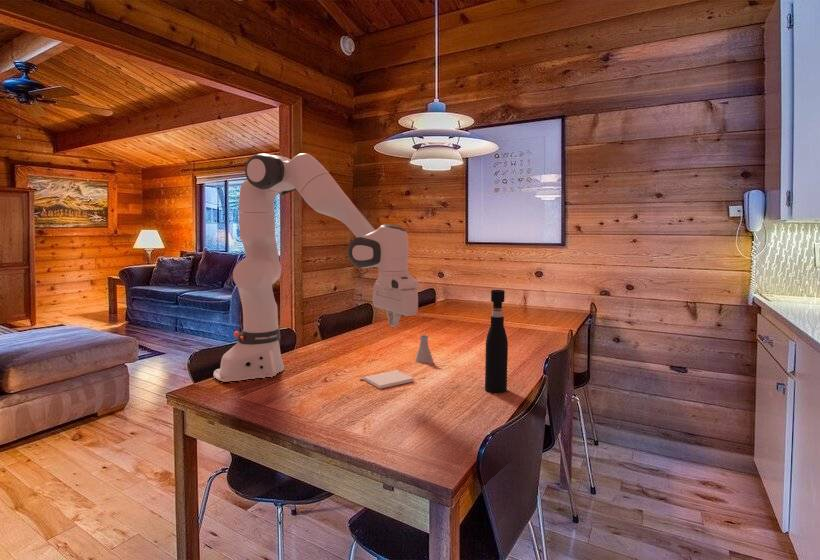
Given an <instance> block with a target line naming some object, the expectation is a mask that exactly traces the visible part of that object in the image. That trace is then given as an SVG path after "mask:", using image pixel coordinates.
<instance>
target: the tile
mask: <svg viewBox="0 0 820 560" xmlns="http://www.w3.org/2000/svg"><path fill="white" fill-rule="evenodd" d="M363 379H364V381H365V382H366V383H368V384H371V385H373V386H375V387H376V388H378V389H379V390H381V389H387V388H391V387H394V386H399V385H404V384H407V383H411V382H415V378H414V377H412V376H410V375H409V374H406V373H404V372H402V371H400V370H397V369H395V370H390V371H386V372H381V373H375V374H371V375H365V376H363Z"/></svg>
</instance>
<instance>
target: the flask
mask: <svg viewBox="0 0 820 560" xmlns="http://www.w3.org/2000/svg"><path fill="white" fill-rule="evenodd" d="M419 338H420V342H419V347H418V349H417V352H416V355H415V357H414V358H415V359H414V360H415V363H419V364H420V363H421V364H429V365H431V366H432V365H433V364H435V362H434V359H433V356H432V354H431V350H430V347H429V341H428V340H429V339H428V338H429V335H427V334H421V335H419Z"/></svg>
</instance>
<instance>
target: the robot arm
mask: <svg viewBox="0 0 820 560" xmlns="http://www.w3.org/2000/svg"><path fill="white" fill-rule="evenodd" d="M244 174H245V177H246V179H245V180H244V181H243V182H242V183H241V185H240V189H239V196H238V197H239V198H238V225H239V226H238V227H239V229H238V230H239V238H240V240H241V243H242V246H243V248H244V249H243V250H244V254H245V258H243V259H241V260H240V261H239V262H238V263H237V264H236V266H234V269H233V272H232V278H233V282H234V283H235V285H236V287H237V290H238V293H239V298H240V302H241V307H242V324H243V329H242V330H241V331H238V330H236V331H234V332H233V336H234V337H235V338H237V343H236V344H234V345H233V346H232V347H231V348H229V350H228V351H226V352H225V353H224V354H223V355H222V357H221V361H220V367H219V368H217V369H215V370H214V371H213V377H214V379H215V378H216V379H218V380H221V381H237V380H246V379H255V378H263V379H266V378H265V377H271V378H274V377H276V375H277V373H278V374H279V372H280V373H281V372H283V371H284V370H285V365H284V362H283V359H282V358H283V357H282V353H281V348H280V347H281V345H280V344H281V332H280V328H279V319H278V318H279V316H278V315H279V313H278V304H277V302H276V299H275V295H274V291H273V285H274V284H275V283H276V282H277V281H278V280H279V278H280V276H281V274H282V271H283V270H282V268H283V267H282V265H281V262H280V257H279V256H280V255H279V251H278V245H277V241H276V228H275V227H276V224H275V223H276V221H275V199H276V197H277V196H278V194H279V195H281V196H283V195H286V194H288V193H293V192H294V191H297V192H298V193H299V195H300V196H301V197H302V198H303V200H304V201H305V203H306V204H307V206H309V207H310V208H311V209H313V210H314V211H315V212H317V213H318V214H322V215H324V216H328V217H330V218H334V219H336V220H338V221H340V222H342V223H343V224H344V225H345V226H346V227H347V228H348V229H349V230H350V232H351V233H352V234H353V235H354V236H355V238H353V239H352V240H351V241H350V242H349V244H348V246H347V257H348V259H349V261H350V262H351V264H352V265H354V266H355V267H356V268H359V269H360V268H361V269H369V268H376V267H378V277H377V278H376V280H375V282H374V285H373V288H372V305H373V307H375V308H378V309H382V310H385V312H386V313H385V314H386V316H387V319H388V325H389V326H391V327H394V328H396V327H399V325H400V320H401V317H402V316H405V317H411V316H416V315H417V313H418V309H419V294H418V293H419V292H418V290H417V289H418V288H419V280H417V279H416V278H414V277H413V276H412V275H411V274H410V272H409V271H410V270H409V266H408V265H409V264H408V259H409V257H410V253H409V250H410V249H409V238H408V237H409V235H408V232H407V230H406V229H405V228H404V226H403V227H402V226H400V225H396V224H395V225H394V224H387V223H386V224H385V223H384V224H381V225H380V226H379V227H378V228H377V229H376V227H375V226H374V225H373V224H372V222H370V221H369V220H368V218H367V217H366V216H365V215H364V214H363V213H362V211H360V209H359V208H358V207H357V206H356V205H355V204H354V203H353V202H352V201H351V199H350V198H349V196H347V195H346V193H345V192H344V191H343V190H342V188H341V187H340V185H339V184H338V183H337V181H336V180H335V178H334V177H333V176H332V175H331V174H330V172H329V171H328V170H327V169H326V167H324V165H322V163H321V162H319V160H317V158H315V157H314V156H313V155H311V154H309V153H303V152H302V153H299V154H297V155H295V156H294V157H292V158H288V157H286V156H282V155H279V154H278V155H277V154H276V155H275V154H269V153H257V154H254V155H252V156H250V157H249V159H248V160H247V161H246V164H245V166H244ZM273 376H274V377H273ZM216 379H215V380H216ZM255 380H256V379H255Z"/></svg>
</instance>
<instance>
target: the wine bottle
mask: <svg viewBox="0 0 820 560" xmlns="http://www.w3.org/2000/svg"><path fill="white" fill-rule="evenodd" d="M505 293H506V291H505V290H503V289H491V290H490V302H491V303H493V305H492V310H491V316H490V326H489V329H488V331H487V335H486V339H485V362H484V363H485V365H484V366H485V367H484V368H485V371H484V373H485V374H484V390H485V391H486V392H487V391H488V393H490V392H491V393H490V394H495V393H500V394H504V392H505V393H506V392H507V390H508V358H509V357H508V353H509V352H508V351H509V343H508V336H507V333H506V329H505V325H504V324H505V318H504V314H503V313H504V311H503V303H504V302H505V297H506V296H505Z"/></svg>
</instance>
